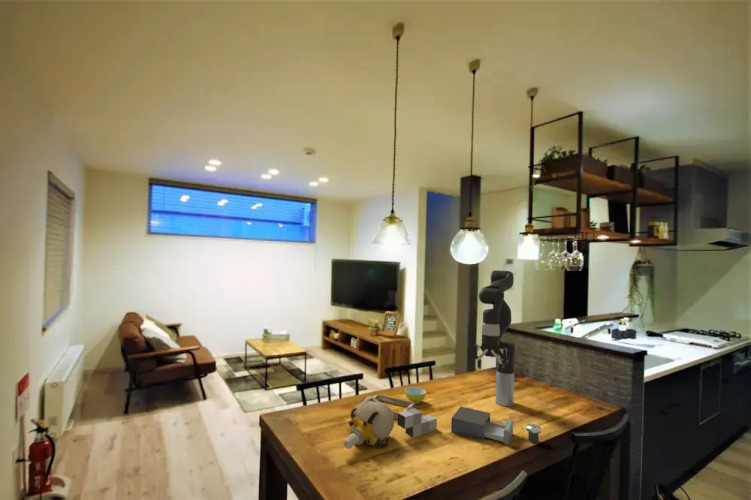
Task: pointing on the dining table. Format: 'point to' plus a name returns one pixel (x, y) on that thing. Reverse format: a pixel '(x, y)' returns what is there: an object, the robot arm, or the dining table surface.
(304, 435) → the dining table surface
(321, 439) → the dining table surface
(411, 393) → the bowl
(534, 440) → the capsule
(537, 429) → the disc
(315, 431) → the dining table surface
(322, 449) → the dining table surface
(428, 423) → the block
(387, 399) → the serving frame
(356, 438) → the decorative object
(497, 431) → the tray
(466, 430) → the housing
